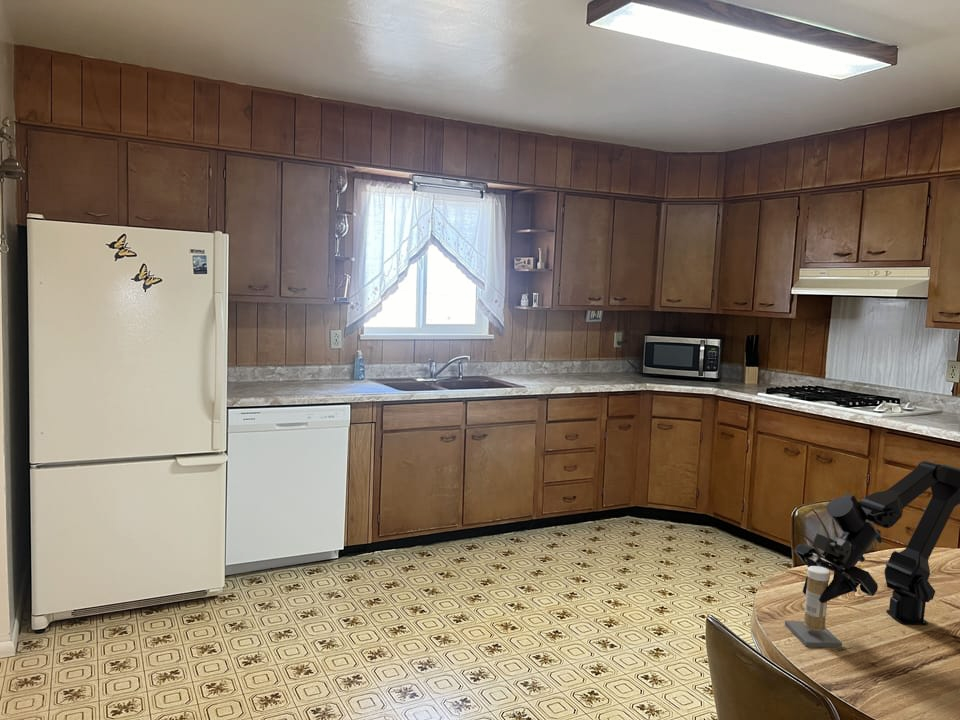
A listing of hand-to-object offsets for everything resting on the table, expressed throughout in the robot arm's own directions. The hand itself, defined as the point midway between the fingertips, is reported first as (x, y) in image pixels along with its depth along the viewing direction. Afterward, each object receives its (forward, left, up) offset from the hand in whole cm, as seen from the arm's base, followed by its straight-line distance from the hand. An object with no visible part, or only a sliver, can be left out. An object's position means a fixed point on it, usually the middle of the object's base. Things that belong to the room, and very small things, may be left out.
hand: (812, 597), depth 159 cm
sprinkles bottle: (-1, 0, -7) cm, 7 cm away
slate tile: (-1, 0, -9) cm, 9 cm away
